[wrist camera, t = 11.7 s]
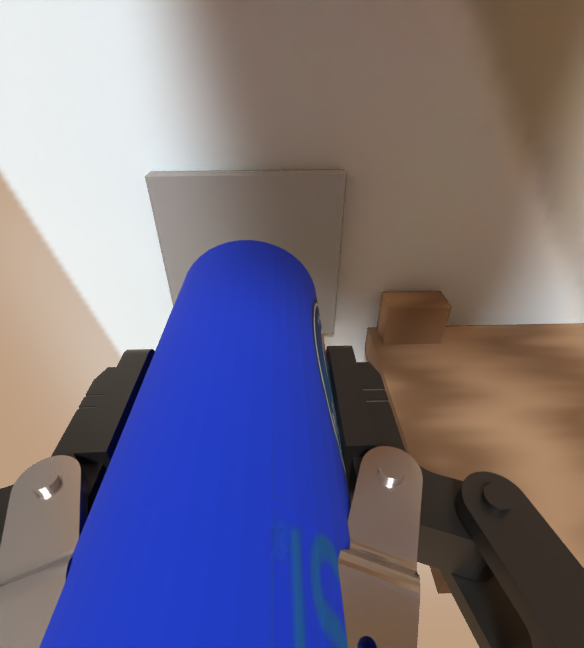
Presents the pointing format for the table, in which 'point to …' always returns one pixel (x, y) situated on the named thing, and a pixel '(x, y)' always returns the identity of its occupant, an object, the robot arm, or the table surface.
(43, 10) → the table surface
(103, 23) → the table surface
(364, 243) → the table surface
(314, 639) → the beverage can
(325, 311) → the slate mat
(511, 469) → the walnut screen
